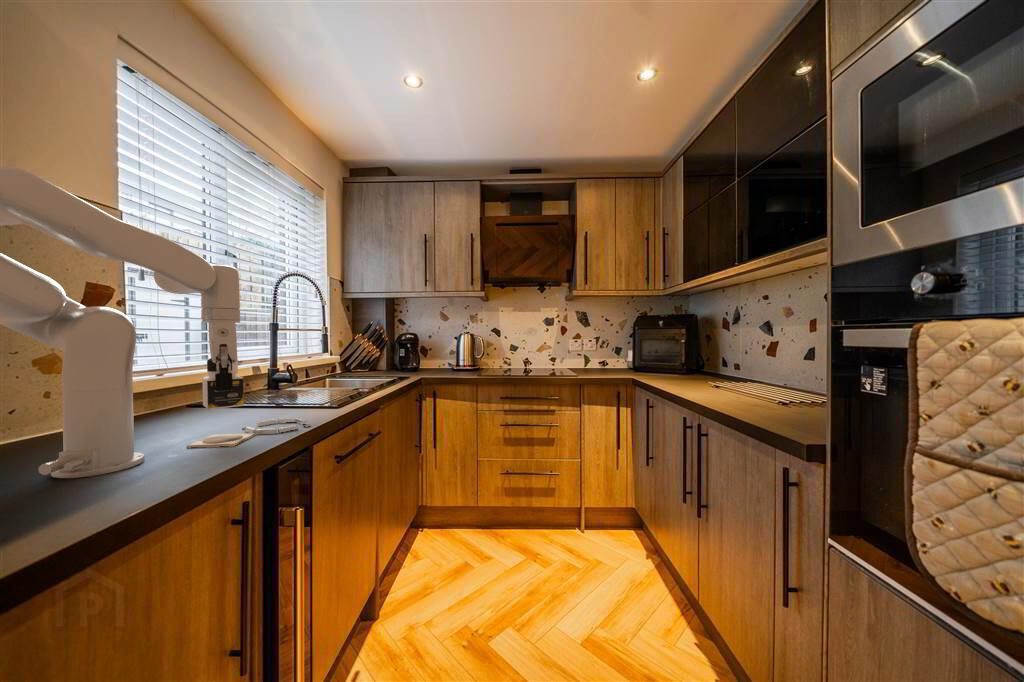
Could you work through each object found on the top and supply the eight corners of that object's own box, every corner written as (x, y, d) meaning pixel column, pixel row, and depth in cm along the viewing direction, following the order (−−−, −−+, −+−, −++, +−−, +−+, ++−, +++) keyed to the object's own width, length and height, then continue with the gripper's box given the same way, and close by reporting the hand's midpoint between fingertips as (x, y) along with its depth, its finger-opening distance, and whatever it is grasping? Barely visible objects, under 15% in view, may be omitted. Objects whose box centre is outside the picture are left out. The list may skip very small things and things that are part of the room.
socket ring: (300, 432, 104) (300, 428, 104) (229, 435, 101) (229, 430, 101) (317, 421, 118) (317, 417, 118) (255, 423, 115) (255, 419, 115)
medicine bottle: (207, 410, 91) (206, 358, 90) (202, 406, 96) (201, 357, 95) (244, 405, 96) (243, 357, 95) (237, 402, 101) (236, 355, 100)
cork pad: (234, 446, 91) (234, 443, 91) (186, 448, 90) (186, 445, 90) (255, 435, 101) (255, 432, 101) (212, 437, 100) (212, 434, 100)
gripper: (243, 315, 91) (245, 391, 91) (237, 318, 104) (238, 383, 105) (202, 314, 86) (204, 394, 86) (201, 317, 99) (203, 386, 100)
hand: (223, 388), depth 95 cm, fingers closed on medicine bottle, 7 cm apart
